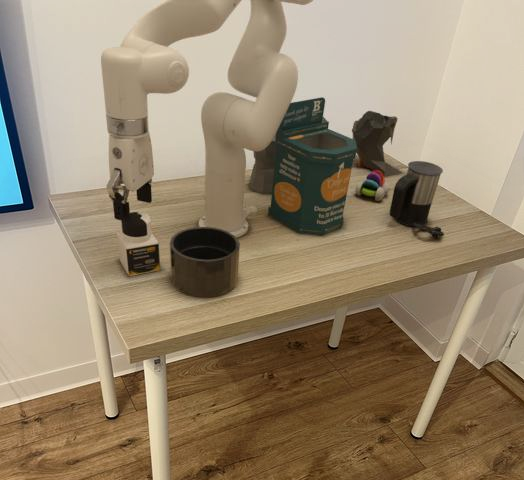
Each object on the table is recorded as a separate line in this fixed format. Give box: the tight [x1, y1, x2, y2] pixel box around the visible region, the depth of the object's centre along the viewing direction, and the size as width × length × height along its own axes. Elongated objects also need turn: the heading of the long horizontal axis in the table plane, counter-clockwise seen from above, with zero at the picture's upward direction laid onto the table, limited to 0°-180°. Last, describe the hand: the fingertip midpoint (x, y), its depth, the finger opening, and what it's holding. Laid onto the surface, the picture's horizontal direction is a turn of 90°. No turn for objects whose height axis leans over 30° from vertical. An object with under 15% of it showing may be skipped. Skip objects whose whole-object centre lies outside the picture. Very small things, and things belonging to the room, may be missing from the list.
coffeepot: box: [248, 134, 276, 195], centre depth 149 cm, size 15×9×18 cm, turn 37°
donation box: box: [267, 97, 357, 236], centre depth 133 cm, size 16×16×28 cm
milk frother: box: [389, 160, 445, 238], centre depth 139 cm, size 14×16×15 cm
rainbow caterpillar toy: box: [354, 170, 391, 202], centre depth 155 cm, size 8×10×7 cm
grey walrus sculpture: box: [351, 110, 403, 178], centre depth 169 cm, size 14×15×18 cm
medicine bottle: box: [116, 211, 161, 277], centre depth 114 cm, size 7×7×12 cm
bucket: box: [169, 226, 241, 298], centre depth 113 cm, size 14×14×9 cm
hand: (133, 210), depth 109 cm, fingers open, 9 cm apart
